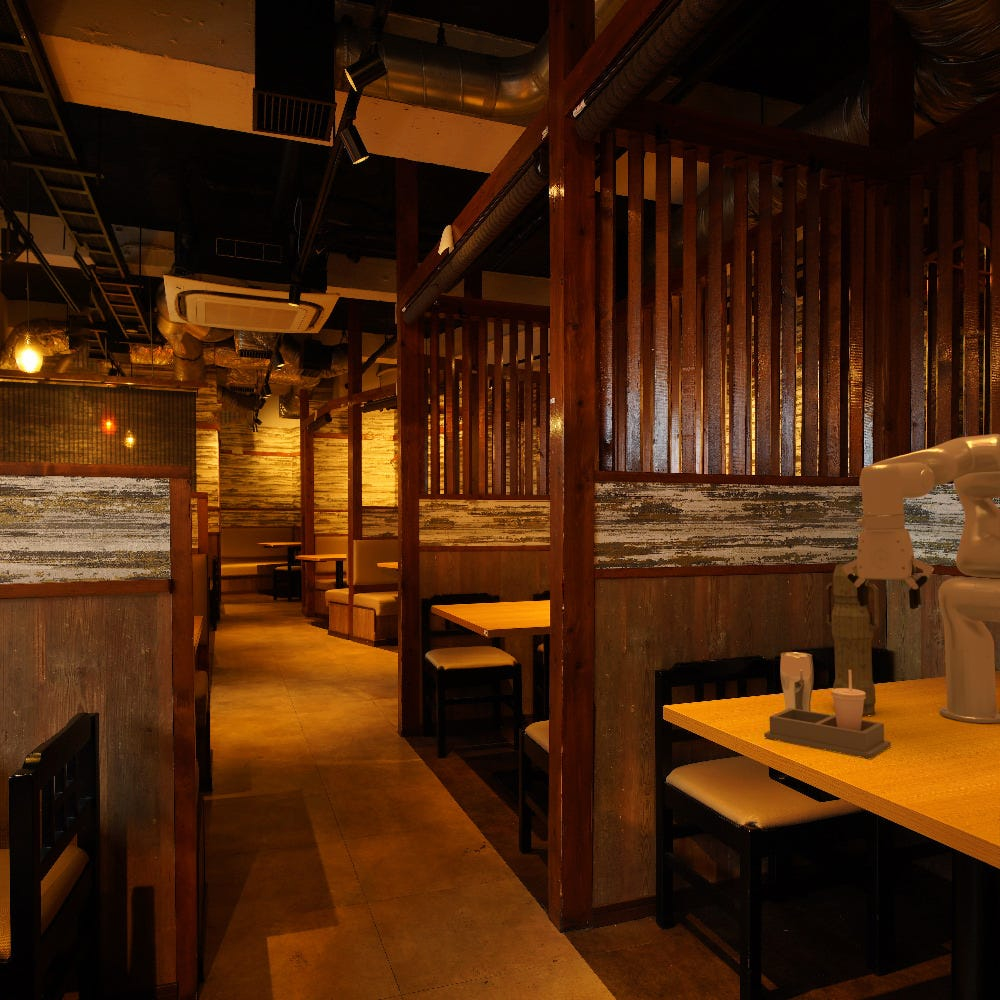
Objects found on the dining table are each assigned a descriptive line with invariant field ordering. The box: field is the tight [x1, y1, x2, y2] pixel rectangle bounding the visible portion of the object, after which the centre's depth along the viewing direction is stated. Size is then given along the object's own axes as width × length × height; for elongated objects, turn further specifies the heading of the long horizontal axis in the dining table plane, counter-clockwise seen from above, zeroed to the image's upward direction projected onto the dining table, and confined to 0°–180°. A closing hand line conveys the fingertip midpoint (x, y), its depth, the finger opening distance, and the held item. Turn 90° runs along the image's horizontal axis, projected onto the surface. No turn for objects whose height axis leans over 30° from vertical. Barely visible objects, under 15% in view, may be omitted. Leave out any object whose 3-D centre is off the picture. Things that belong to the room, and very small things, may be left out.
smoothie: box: [830, 670, 866, 731], centre depth 149 cm, size 6×6×14 cm
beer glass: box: [779, 651, 815, 711], centre depth 169 cm, size 7×7×15 cm
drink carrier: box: [763, 708, 892, 760], centre depth 152 cm, size 11×21×4 cm, turn 45°
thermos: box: [823, 562, 880, 717], centre depth 177 cm, size 9×12×35 cm
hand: (888, 606), depth 154 cm, fingers open, 9 cm apart
